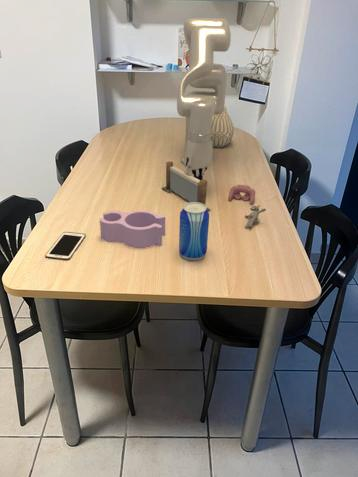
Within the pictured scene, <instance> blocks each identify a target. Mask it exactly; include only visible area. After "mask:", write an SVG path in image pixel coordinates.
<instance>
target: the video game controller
mask: <svg viewBox="0 0 358 477" xmlns="http://www.w3.org/2000/svg"><path fill="white" fill-rule="evenodd" d="M241 193H242V194H244V195H243V196H242V194H241ZM255 197H256V190H255V189H254V188H253V187H252V186H249V185H246V184H235V185H233V186H232V187H231V188H230V190H229V193H228V198H227V199H228V201H229V202H231V201H232V199H233V198H235V199H236V200H240V199H241V198H242V199H243V200H244V201H249V204H250V205H251V206H253V204H254V201H255Z"/></svg>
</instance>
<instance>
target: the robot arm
mask: <svg viewBox="0 0 358 477" xmlns="http://www.w3.org/2000/svg"><path fill="white" fill-rule="evenodd" d="M183 34H184V39H185V42H186V45H187V48H188V54H189V55H188V58H189V59H188V70H186V72H185V73H183V75H182V76H181V78H180V80H179V81H178V85H177V92H176V96H177V97H176V109H177V113H178V116H180V117H183V118H185V135H184V137H185V138H184V139H185V140H184V155H183V156H182V157H181V159H180V162H181V163H182V164H183V165H184V167H186V168H185V172H186V173H188V174H190V173H191V174H192V176H193V177H195V178H197V179H199V180H203V178H204V177H203V176H204V175H205V173H206V172H207V170H209V169H211V168H212V164H213V159H214V158H213V157H214V152H213V151H214V150H213V148H214V147H213V146H212V140H211V136H213V132H211V127H212V116H213V115H219V114H221V113H222V112H223V110H224V106H225V103H226V102H225V100H226V88H227V71H226V68H225V66H224V65H223V64H218V63H217V64H215V63H214V55H215V54H214V52H220V53H221V52H222V53H223V52H224V53H225V52H227V51H229V50H230V49H229V48H230V46H231V41H232V40H231V39H232V38H231V36H232V34H231V29H230V24H229V21H228V20H227V19H226V18H224V17H223V18H221V17H190V18H187V19H186V20H184V22H183ZM188 86H190V87H192V88H194V89H208V90H210V89H211V90H214V91H205V90H202V91H200V90H193V91H189V92H187V93H186V94H185V92H186V88H187V87H188Z"/></svg>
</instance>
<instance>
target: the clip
mask: <svg viewBox="0 0 358 477" xmlns="http://www.w3.org/2000/svg"><path fill="white" fill-rule="evenodd" d="M102 216H103V217H102V218H101V217H100V218H99V227H100V237H101V240H103V241H105V242H107V243H122V244H123V245H125V246H127V247H130V248H132V247H133V248H134V249H147V248H146V247H148V248H152V247H154V246H157V245H158V246H157V247H162V246H161V245H163V235H164V236H166V215H164V214H163V215H159V214H158V213H156V212H154V211H150V210H146V209H145V210H144V209H140V210H139V209H137V210H131V211H128V212H122V211H119V210H108V211H105V212H103V213H102ZM153 245H154V246H153ZM151 246H152V247H151Z"/></svg>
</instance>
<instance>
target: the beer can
mask: <svg viewBox="0 0 358 477" xmlns="http://www.w3.org/2000/svg"><path fill="white" fill-rule="evenodd" d="M207 208H208V207H207V206H206V205H204V204H202V203H198V202H190V201H189V202H188V203H185V204H184V205H183V208H182V209H181V211H180V212H179V233H178V234H179V236H178V252H179V254H180V255H181V257H182V258H183V259H185V260H187V261H199V260H201V259H203V258H204V256H206V255H207V253H208V252H207V251H208V240H209V239H208V238H209V226H210V225H209V224H210V212H208V211H207Z"/></svg>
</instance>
